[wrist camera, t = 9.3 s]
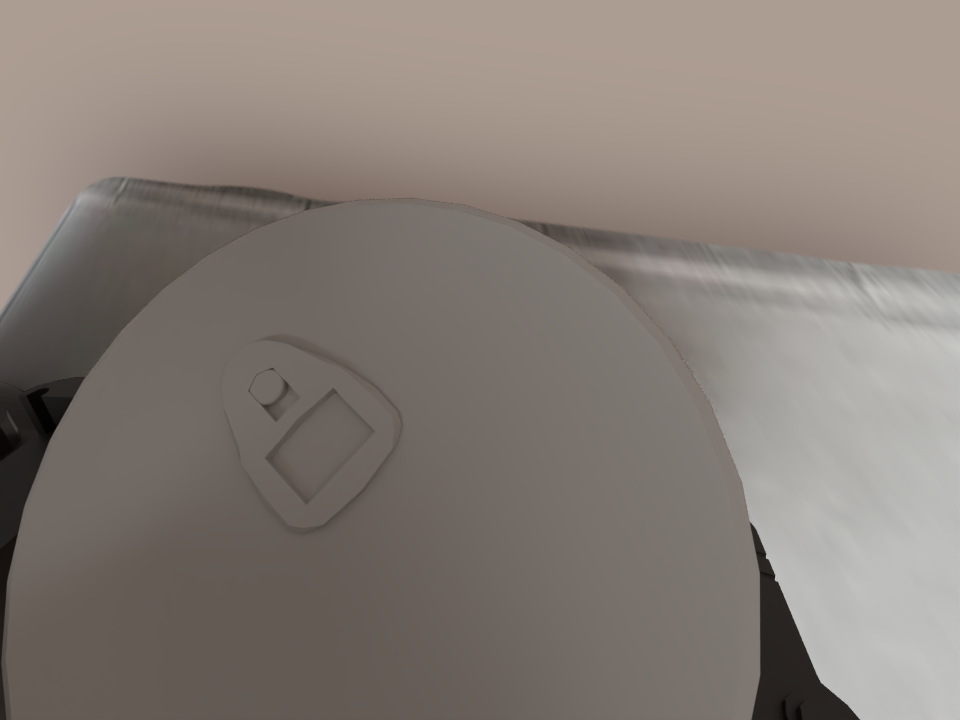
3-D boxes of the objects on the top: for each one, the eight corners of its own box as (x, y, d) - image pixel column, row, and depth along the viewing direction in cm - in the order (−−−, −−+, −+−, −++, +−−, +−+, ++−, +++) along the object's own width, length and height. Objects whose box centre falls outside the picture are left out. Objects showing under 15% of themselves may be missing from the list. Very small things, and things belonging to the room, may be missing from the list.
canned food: (434, 361, 16) (266, 131, 6) (616, 443, 14) (865, 318, 4) (339, 536, 14) (-167, 667, 4) (534, 658, 12) (576, 1605, 2)
